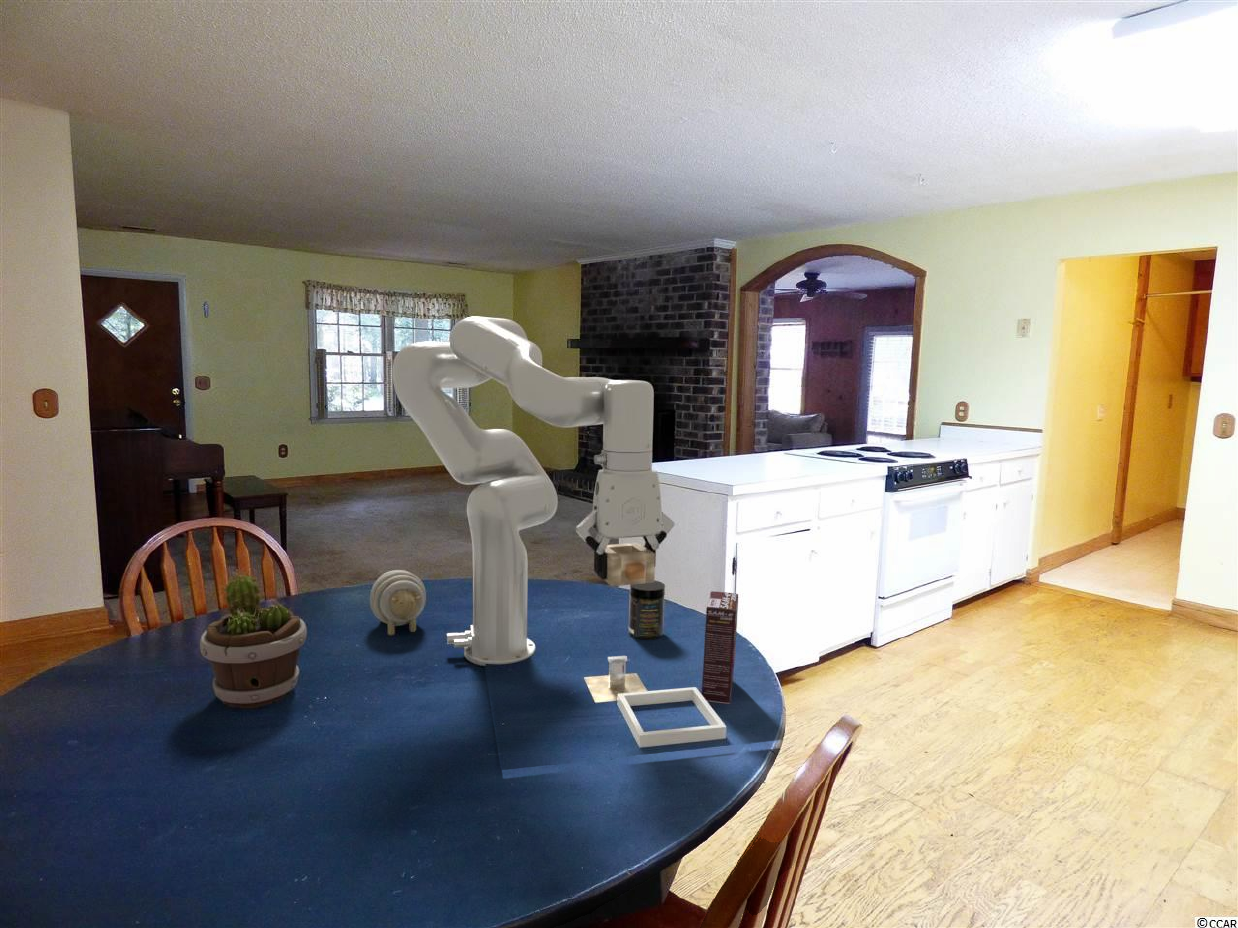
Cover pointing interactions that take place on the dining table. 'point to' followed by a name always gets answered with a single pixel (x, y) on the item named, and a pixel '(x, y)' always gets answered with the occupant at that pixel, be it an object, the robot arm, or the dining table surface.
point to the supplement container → (646, 610)
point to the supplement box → (719, 647)
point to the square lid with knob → (614, 682)
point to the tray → (673, 735)
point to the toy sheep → (398, 599)
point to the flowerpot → (253, 647)
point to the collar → (629, 564)
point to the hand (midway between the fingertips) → (624, 574)
